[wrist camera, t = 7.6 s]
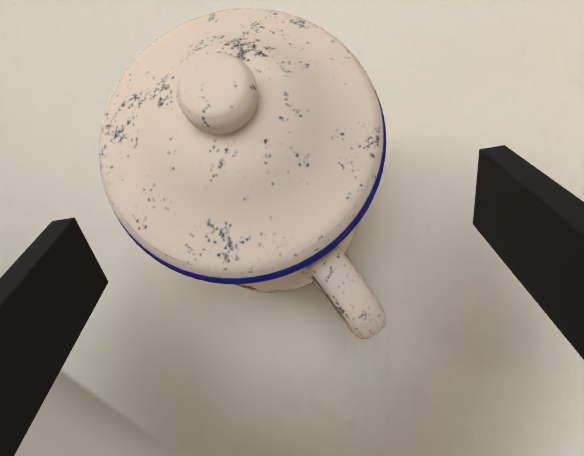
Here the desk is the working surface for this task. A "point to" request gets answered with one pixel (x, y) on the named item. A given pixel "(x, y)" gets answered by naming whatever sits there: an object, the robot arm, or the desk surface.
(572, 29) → the desk surface
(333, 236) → the teacup with lid
